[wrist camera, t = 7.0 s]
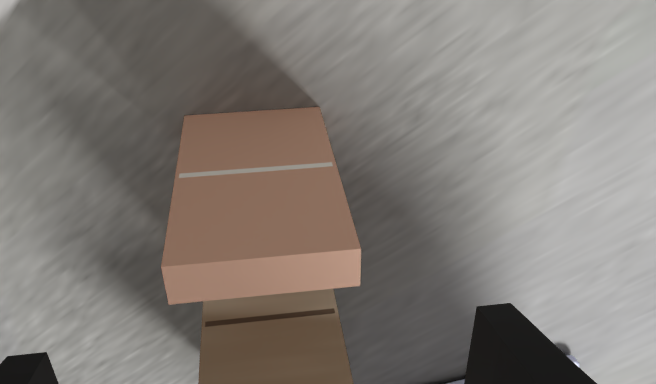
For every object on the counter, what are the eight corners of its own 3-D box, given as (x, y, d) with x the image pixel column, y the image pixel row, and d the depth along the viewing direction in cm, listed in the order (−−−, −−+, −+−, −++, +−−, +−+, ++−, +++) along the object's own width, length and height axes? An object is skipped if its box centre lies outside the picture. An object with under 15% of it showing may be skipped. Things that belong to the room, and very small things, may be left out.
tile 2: (323, 262, 21) (358, 433, 16) (209, 273, 21) (201, 454, 15) (322, 239, 21) (358, 408, 15) (205, 250, 20) (195, 428, 15)
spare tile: (319, 136, 19) (359, 286, 13) (188, 146, 18) (168, 305, 12) (319, 106, 18) (361, 248, 12) (184, 115, 18) (161, 266, 12)
